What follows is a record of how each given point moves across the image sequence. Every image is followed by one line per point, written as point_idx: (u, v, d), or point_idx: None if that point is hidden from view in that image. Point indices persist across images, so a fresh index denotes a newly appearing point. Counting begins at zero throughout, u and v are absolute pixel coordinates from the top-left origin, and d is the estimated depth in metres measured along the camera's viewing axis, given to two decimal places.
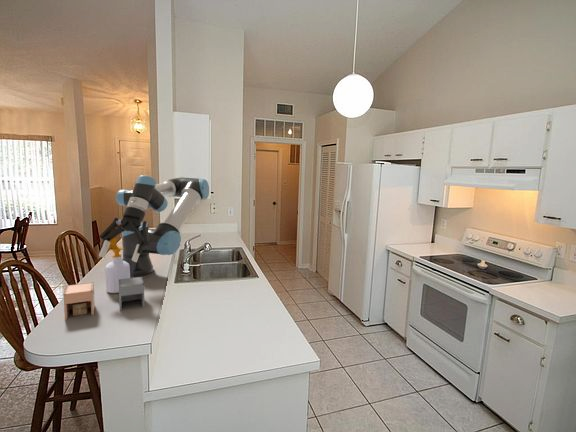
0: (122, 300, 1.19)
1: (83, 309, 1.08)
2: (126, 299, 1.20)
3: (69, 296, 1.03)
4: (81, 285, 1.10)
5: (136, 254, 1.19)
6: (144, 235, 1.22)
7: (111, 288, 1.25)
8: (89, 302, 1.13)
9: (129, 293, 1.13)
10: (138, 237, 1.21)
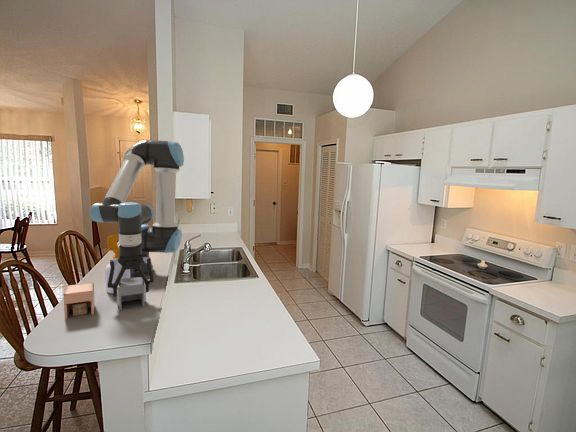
0: (122, 300, 1.19)
1: (83, 309, 1.08)
2: (126, 299, 1.20)
3: (69, 296, 1.03)
4: (81, 285, 1.10)
5: (145, 294, 1.19)
6: (150, 274, 1.18)
7: (111, 288, 1.25)
8: (89, 302, 1.13)
9: (129, 293, 1.13)
10: (143, 277, 1.17)
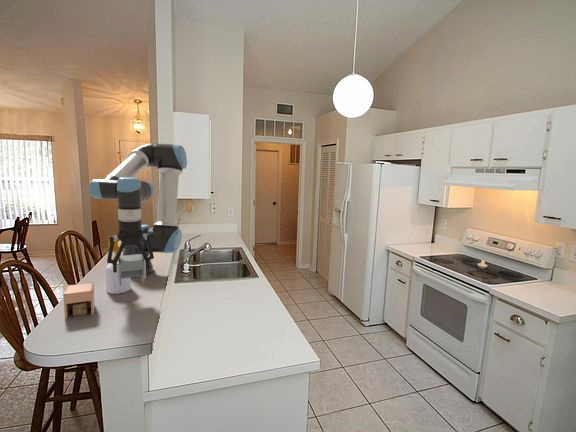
0: (122, 277, 1.18)
1: (83, 309, 1.08)
2: (126, 276, 1.19)
3: (69, 296, 1.03)
4: (81, 285, 1.10)
5: (145, 271, 1.18)
6: (150, 250, 1.17)
7: (111, 288, 1.25)
8: (89, 302, 1.13)
9: (129, 269, 1.12)
10: (143, 253, 1.16)
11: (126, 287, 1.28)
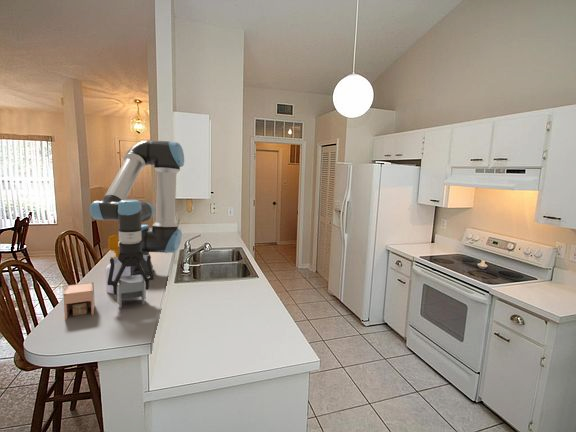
0: (122, 298, 1.19)
1: (83, 309, 1.08)
2: (126, 297, 1.19)
3: (69, 296, 1.03)
4: (81, 285, 1.10)
5: (145, 291, 1.19)
6: (150, 271, 1.18)
7: (111, 288, 1.25)
8: (89, 302, 1.13)
9: (129, 290, 1.13)
10: (143, 275, 1.17)
11: None
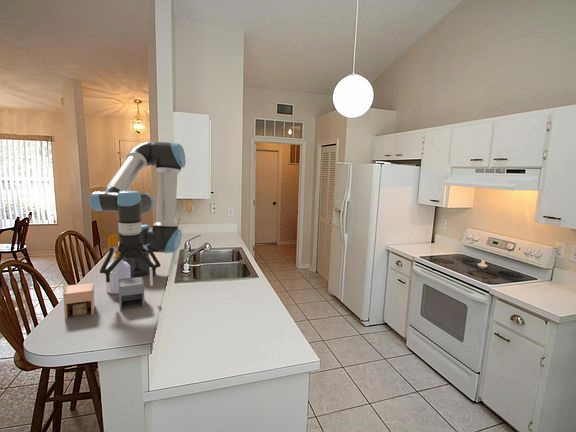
0: (122, 300, 1.19)
1: (83, 309, 1.08)
2: (126, 299, 1.20)
3: (69, 296, 1.03)
4: (81, 285, 1.10)
5: None
6: (154, 259, 1.18)
7: None
8: (89, 302, 1.13)
9: (129, 293, 1.13)
10: (148, 263, 1.17)
11: None
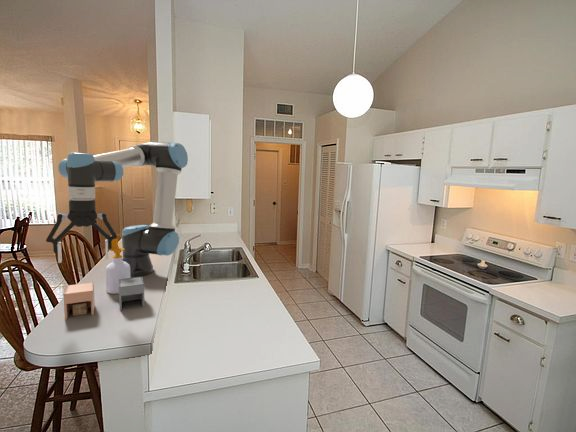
0: (122, 300, 1.19)
1: (83, 309, 1.08)
2: (126, 299, 1.20)
3: (69, 296, 1.03)
4: (81, 285, 1.10)
5: None
6: (110, 230, 1.09)
7: (111, 288, 1.25)
8: (89, 302, 1.13)
9: (129, 293, 1.13)
10: (103, 233, 1.08)
11: None
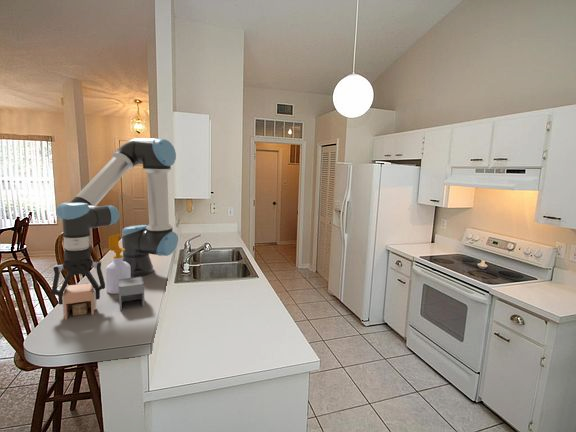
0: (122, 300, 1.19)
1: (83, 309, 1.08)
2: (126, 299, 1.20)
3: (69, 296, 1.03)
4: (81, 285, 1.10)
5: None
6: (100, 280, 1.10)
7: (111, 288, 1.25)
8: (89, 302, 1.13)
9: (129, 293, 1.13)
10: (93, 283, 1.09)
11: None
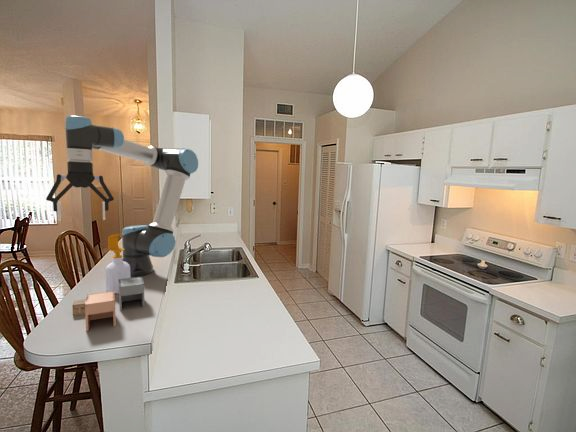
0: (122, 300, 1.19)
1: (82, 309, 1.08)
2: (126, 299, 1.20)
3: (91, 306, 0.97)
4: (102, 294, 1.04)
5: None
6: (107, 192, 1.14)
7: (111, 288, 1.25)
8: (110, 312, 1.07)
9: (129, 293, 1.13)
10: (100, 195, 1.13)
11: None
